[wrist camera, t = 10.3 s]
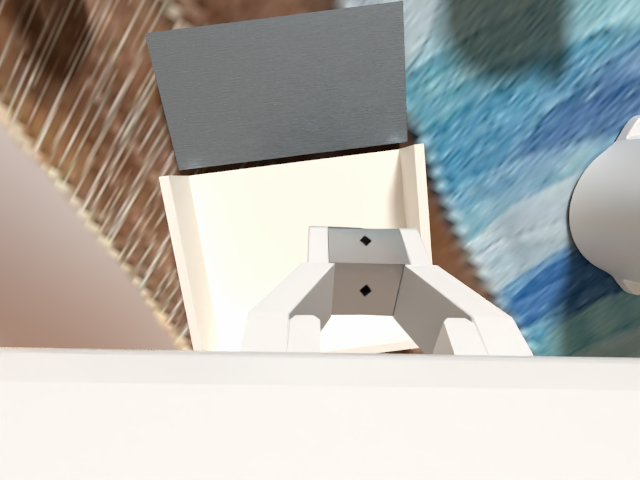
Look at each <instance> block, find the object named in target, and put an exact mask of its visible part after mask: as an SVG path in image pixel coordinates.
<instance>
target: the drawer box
mask: <svg viewBox="0 0 640 480" xmlns="http://www.w3.org/2000/svg"><path fill="white" fill-rule="evenodd" d="M159 180H160V185H161V190H162V195H163V200H164V205H165V210H166V215H167V220H168V225H169V230H170V235H171V240H172V245H173V250H174V255H175V260H176V265H177V270H178V275H179V280H180V285H181V290H182V295H183V300H184V305H185V310H186V315H187V320H188V325H189V330H190V335H191V340H192V345H193V350H197V351H240V347H241V342H242V337H243V333H244V328H245V323H246V319H247V314H248V312H249V311H250V310H251V309H252V308H253V307H254V306H255V305H256V304H258V303H259V302H260V301H261V300H262V299H263V298H264V297H265V296H266V295H267V294H268V293H269V292H271V291H272V290H273V289H274V288H275V287H276V286H277V285H278V284H279V283H280V282H281V281H282V280H284V279H285V278H286V277H287V276H288V275H289V274H290V273H291V272H292V271H293V270H294V269H295V268H296V267H298V266H299V265H300V264H301V263H302V262H307V255H308V228H309V226H327V227H328V226H330V227H352V228H369V229H398V228H416V229H417V230H418V232H419V234H420V237H421V239H422V242H423V244H424V247H425V249H426V252H427V254H428V257H429V259H430V262H431V264H432V254H431V240H430V226H429V212H428V197H427V183H426V169H425V155H424V144H416V145H412V146H408V147H405V148H402V149H397V150H389V151H381V152H373V153H365V154H357V155H349V156H341V157H333V158H325V159H317V160H309V161H301V162H293V163H285V164H277V165H269V166H262V167H254V168H246V169H238V170H230V171H222V172H214V173H206V174H198V175H190V176H162V177H159ZM320 337H321V353H382V352H390V351H398V350H406V349H413V348H419V347H418V346H417V345H416V344H415V342H414V341H413V340H412V339H411V338H410V337H409V335H408V334H407V333H406V332H405V331H404V330H403V329H402V327H401V326H400V325H399V324H398V323H397V322H396V321H395V319H394V318H393V316H377V315H331V318H330V319H329V321H328V322H327V324H326V325H325V327H324V328H323V329H322V331H321V332H320Z"/></svg>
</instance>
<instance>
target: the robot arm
mask: <svg viewBox="0 0 640 480" xmlns="http://www.w3.org/2000/svg"><path fill="white" fill-rule="evenodd" d="M569 222H570V229H571V233H572V237H573V239H574V242H575V244H576V246H577V248H578V249H579V251H580V252H581V254H582V255H583V256H584V257H585V258H586V259H587V260H588V261H589V262H590V263H592V264H593V265H595V266H596V267H598V268H600V269H602V270H604V271H606V272H608V273H609V274H611V275H612V276H613V277H614V279H615V280H616V282H617V283H618V284H619V286H620V287H621V288H622V289H623V290H624V291H625V292H627V293H630V294H634V295H640V115H637V116H634V117H632V118H631V119H630V120H629V121H628V122H627V124H626V125H625V127H624V128H623V130H622V131H621V133H620V135H619V136H618V138H617V140H616V141H615V142H614V143H613V144H612V145H611V146H610V147H609V148H608V149H607V150H605V151H604V152H603V153H602V154H600V155H599V156H598V157H597V158H596V159H595V160H594V161H593V162H592V163H591V164H590V165H589V166H588V167H587V169H586V170H585V171H584V173H583V174H582V176H581V177H580V179H579V181H578V183H577V185H576V187H575V190H574V193H573V196H572V199H571V204H570V212H569ZM331 315H377V316H393V318H394V319H395V321H396V322H397V323H398V324H399V325H400V326H401V327H402V329H403V330H404V331H405V332H406V333H407V334H408V335H409V337H410V338H411V339H412V340H413V341H414V342H415V344H416V345H417V346H418V347H419V348H420V349H421V350H422V352H423V353H424V354H385V353H321V337H320V332H321V331H322V329H323V328H324V327H325V325H326V324H327V322H328V321H329V319H330V318H331ZM0 480H640V358H631V357H558V356H533V354H532V352H531V350H530V349H529V347H528V345H527V343H526V341H525V340H524V338H523V336H522V334H521V332H520V331H519V329H518V327H517V325H516V324H515V322H514V320H513V318H512V317H510V316H509V315H507V314H506V313H504V312H503V311H502V310H500V309H499V308H497V307H496V306H494V305H493V304H492V303H490V302H489V301H487V300H486V299H484V298H483V297H482V296H480V295H479V294H477V293H476V292H474V291H473V290H472V289H470V288H469V287H467V286H466V285H464V284H463V283H462V282H460V281H459V280H457V279H456V278H454V277H453V276H452V275H450V274H449V273H447V272H446V271H444V270H443V269H442V268H440V267H439V266H437V265H432V264H431V262H430V259H429V257H428V254H427V252H426V249H425V247H424V244H423V242H422V239H421V237H420V234H419V232H418V230H417V229H416V228H398V229H369V228H352V227H330V226H328V227H327V226H309V228H308V255H307V262H302V263H301V264H300V265H299V266H298V267H296V268H295V269H294V270H293V271H292V272H291V273H290V274H289V275H288V276H287V277H286V278H285V279H284V280H282V281H281V282H280V283H279V284H278V285H277V286H276V287H275V288H274V289H273V290H272V291H271V292H269V293H268V294H267V295H266V296H265V297H264V298H263V299H262V300H261V301H260V302H259V303H258V304H256V305H255V306H254V307H253V308H252V309H251V310H250V311H249V312H248V314H247V319H246V323H245V328H244V333H243V337H242V342H241V347H240V351H197V350H135V349H132V350H131V349H76V348H75V349H73V348H72V349H71V348H17V347H16V348H15V347H0Z"/></svg>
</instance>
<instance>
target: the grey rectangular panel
mask: <svg viewBox="0 0 640 480" xmlns="http://www.w3.org/2000/svg"><path fill="white" fill-rule="evenodd" d="M145 37H146V41H147V45H148V49H149V53H150V57H151V61H152V65H153V69H154V73H155V77H156V81H157V85H158V89H159V93H160V97H161V101H162V105H163V109H164V113H165V116H166V120H167V124H168V128H169V132H170V136H171V140H172V144H173V148H174V152H175V156H176V160H177V164H178V168H179V170H186V169H194V168H202V167H210V166H218V165H226V164H234V163H242V162H250V161H258V160H266V159H274V158H282V157H290V156H298V155H306V154H314V153H322V152H329V151H337V150H345V149H353V148H361V147H369V146H377V145H385V144H393V143H401V142H407V114H406V83H405V53H404V22H403V1H399V2H391V3H383V4H375V5H367V6H359V7H351V8H343V9H335V10H327V11H319V12H311V13H303V14H296V15H288V16H280V17H272V18H264V19H256V20H248V21H240V22H232V23H224V24H216V25H208V26H200V27H192V28H184V29H176V30H168V31H160V32H152V33H145Z"/></svg>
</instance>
